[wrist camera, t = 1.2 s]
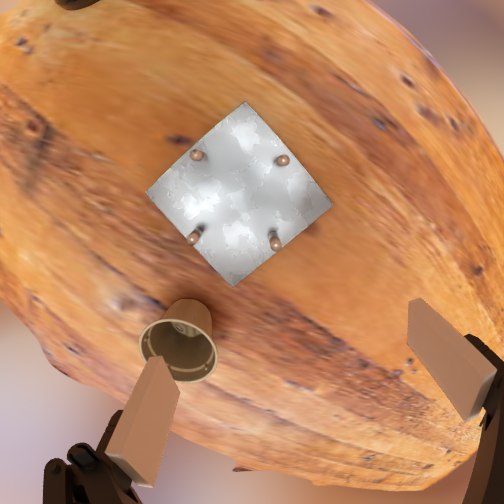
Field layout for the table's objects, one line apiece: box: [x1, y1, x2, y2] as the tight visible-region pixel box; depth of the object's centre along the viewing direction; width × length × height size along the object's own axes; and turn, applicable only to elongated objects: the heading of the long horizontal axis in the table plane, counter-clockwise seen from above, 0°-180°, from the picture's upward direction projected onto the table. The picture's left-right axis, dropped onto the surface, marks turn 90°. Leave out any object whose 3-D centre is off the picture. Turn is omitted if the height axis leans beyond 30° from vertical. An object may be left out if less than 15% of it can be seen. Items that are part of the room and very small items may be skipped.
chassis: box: [145, 101, 333, 288], centre depth 31 cm, size 16×16×5 cm
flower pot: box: [139, 299, 218, 383], centre depth 34 cm, size 9×9×9 cm
